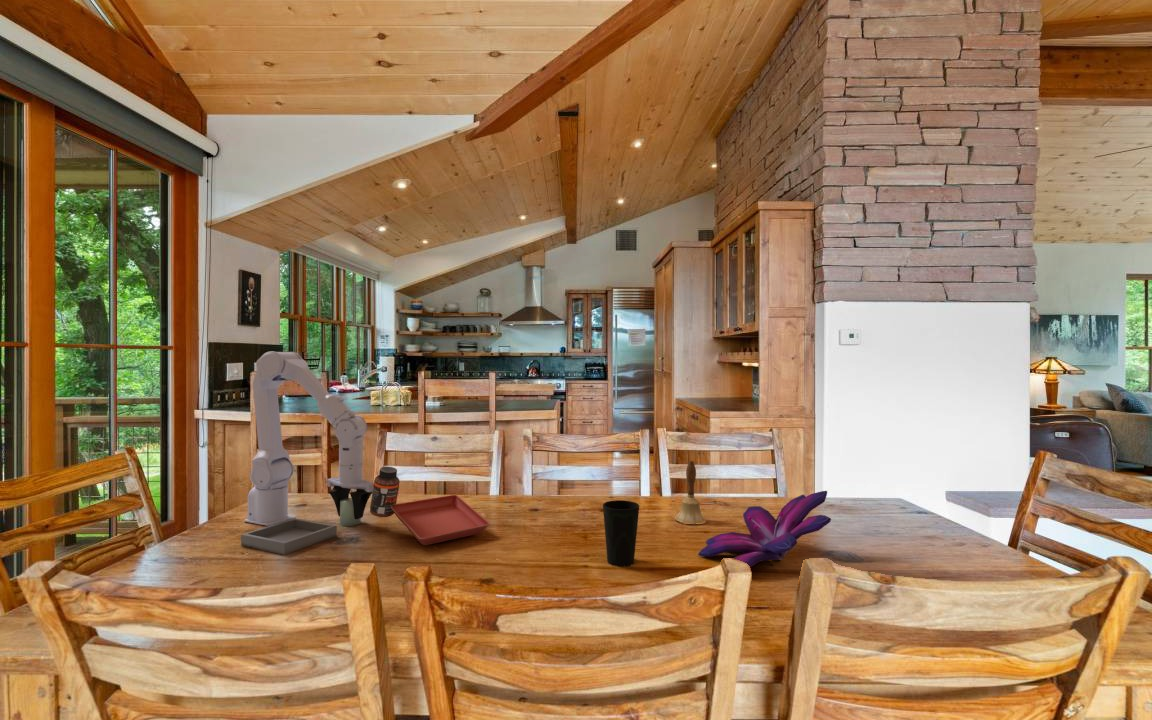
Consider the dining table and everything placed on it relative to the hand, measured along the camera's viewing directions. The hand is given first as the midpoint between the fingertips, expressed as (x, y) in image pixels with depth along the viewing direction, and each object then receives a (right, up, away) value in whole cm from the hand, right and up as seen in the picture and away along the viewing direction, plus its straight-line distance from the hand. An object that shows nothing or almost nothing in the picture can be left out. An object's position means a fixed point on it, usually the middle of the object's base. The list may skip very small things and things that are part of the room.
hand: (350, 516), depth 141 cm
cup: (+67, -2, -25) cm, 72 cm away
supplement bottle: (+10, +3, -6) cm, 12 cm away
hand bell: (+88, -3, +5) cm, 89 cm away
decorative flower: (+98, -3, -24) cm, 101 cm away
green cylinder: (0, -2, 0) cm, 2 cm away
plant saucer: (+25, 0, -8) cm, 26 cm away
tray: (-8, -2, -14) cm, 16 cm away
